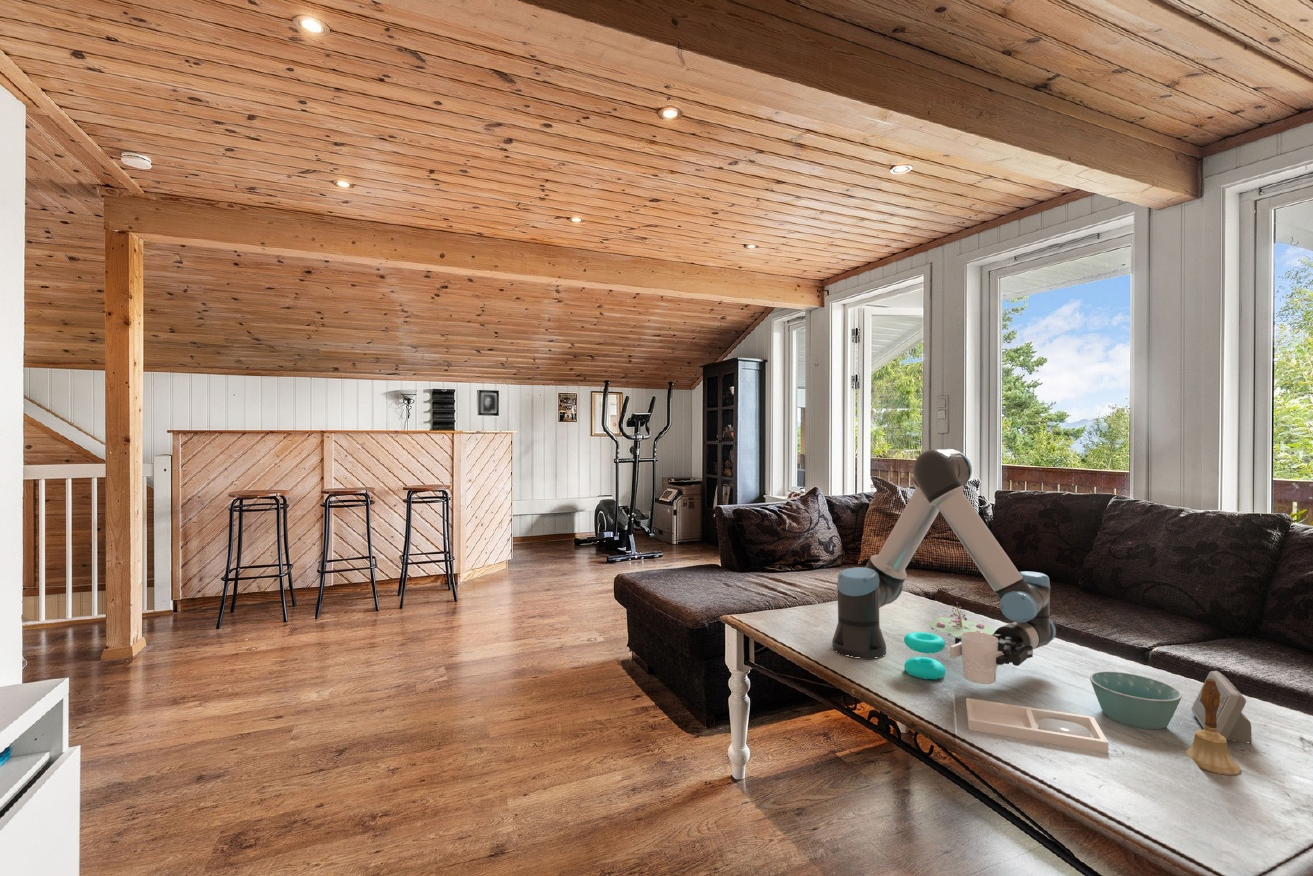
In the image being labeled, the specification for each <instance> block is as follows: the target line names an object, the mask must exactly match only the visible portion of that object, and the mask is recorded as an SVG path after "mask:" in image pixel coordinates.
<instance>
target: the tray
mask: <svg viewBox="0 0 1313 876" xmlns="http://www.w3.org/2000/svg"><path fill="white" fill-rule="evenodd" d="M965 701H966V705H965V707H966V715H967V716H966V718H967V725H968V730H969V731H972V732H973V731H974V732H981V733H985V734H986V733H987V734H992V735H998V736H1003V737H1009V738H1015V739H1016V738H1017V739H1022V740H1026V741H1027V740H1029V741H1033V742H1034V741H1035V742H1040V743H1046V744H1051V745H1057V746H1061V747H1062V746H1063V747H1067V748H1068V747H1069V748H1076V749H1081V750H1085V751H1093V752H1100V753H1105V754H1109V753H1110V752H1109V741H1108V740H1107V738H1106V736H1105V734H1104V732H1103V730H1102V729H1101V727H1100V726H1099V724H1098V722H1097V720H1096V718H1095V716H1090V715H1084V714H1076V713H1070V712H1064V711H1063V712H1062V711H1057V710H1056V711H1055V710H1051V709H1050V710H1049V709H1043V708H1038V707H1037V708H1035V707H1028V706H1022V705H1016V704H1009V703H1004V702H998V701H997V702H996V701H989V700H983V699H977V698H969V697H966V698H965ZM1046 718H1056V719H1063V720H1068V721H1071V722H1074V723H1077V724H1080V725H1082V726H1084V727H1085V728H1087V729H1088V730H1089V731H1090V733H1091V738H1090V737H1084V736H1077V735H1071V734H1065V733H1059V732H1053V731H1046V730H1040V729H1038V722H1039V721H1040V720H1042V719H1046Z"/></svg>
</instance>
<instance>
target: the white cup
mask: <svg viewBox="0 0 1313 876" xmlns="http://www.w3.org/2000/svg"><path fill="white" fill-rule="evenodd" d="M961 647H962V655H961V663H962V674H963V675H962V676H963V677H964V678H965V679H966V680H968V681H970V682H972V683H975V684H981V685H992V684H994V683H995V682H997V680H996V679H997V678H996V677H997V667H998V666H996V667H993V668H991V669H989V670H988V669H985V657H986V656H988V655H991V654H993V653H996V652H998V638H996V637H995V636H992V635H989V634H986V633H980V632H964V633H962V634H961Z"/></svg>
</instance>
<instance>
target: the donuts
mask: <svg viewBox="0 0 1313 876" xmlns="http://www.w3.org/2000/svg"><path fill="white" fill-rule="evenodd" d="M903 642H904V644H905V645H906V647H907V648H909V649H910V650H912V651H914V652H917V653H922V654H937V653H939V652H942V651H944V649H945V647H946V642H945V640H944V638H942V637H941V636H939V635H938V634H935V633H931V632H924V631H912V632H909V633H907V634H905V636H904V638H903ZM904 670H905V671H906V673H908V674H909V675H910V674H911V675H910V676H912V675H913V676H912V677H914V676H915V677H914V678H917V677H919V678H918V679H921V678H926V679H925V680H928V679H934V680H938V679H937V678H940V679H941V678H944V677H945V675H946V672H947V670H946V667H945V666H944V664H943V663H941V662H940V661H939V660H936V659H934V658H931V657H927V656H914V657H910V658H908V659H907V660H905V663H904Z"/></svg>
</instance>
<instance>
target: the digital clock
mask: <svg viewBox="0 0 1313 876" xmlns="http://www.w3.org/2000/svg"><path fill="white" fill-rule="evenodd" d="M1206 679H1213V680H1215V682H1216V685H1217V688H1218V690H1219V693H1220V704H1219V708H1218V710H1217V713H1216V721H1217V733H1219V734H1220V735H1222V736H1224V737H1225V738H1226V740H1227V739H1230V740H1229V741H1231V740H1235V741H1234V742H1236V741H1240V742H1239V743H1242V742H1249V743H1251V744H1252V743H1253V742H1252V739H1253V738H1252V724H1251V722H1250V721H1251V720H1249V719H1248V718H1247V716H1246V715H1245V714H1244V712H1243V710H1244V709H1245V705H1246V704H1247V699H1246V698H1245V697H1244V695H1243V694H1242V693H1241V692H1240V691H1239V690H1238V689H1237V688H1236V686H1235V685H1234V684H1233V682H1231V681H1230V680H1229V679H1228V678H1227V676H1225V675H1224V674H1223V673H1221V672H1220V671H1218V670H1212V671H1209V673H1208V674H1207V676H1206V678H1205V680H1204V682H1203V684H1202V687H1201V689H1200V690H1199V693H1198V694H1197V697H1196V698H1195V701H1194V703H1192V704H1193V705H1192V706H1191V712H1192V714H1193V715H1194V716H1195V717H1196V719H1197V721H1198V722H1199V723H1200V725H1201V726H1202V728H1203V729H1205V708H1204V706H1203V702H1202V688H1203V686H1204V684H1205V682H1206ZM1227 741H1228V740H1227Z"/></svg>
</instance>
